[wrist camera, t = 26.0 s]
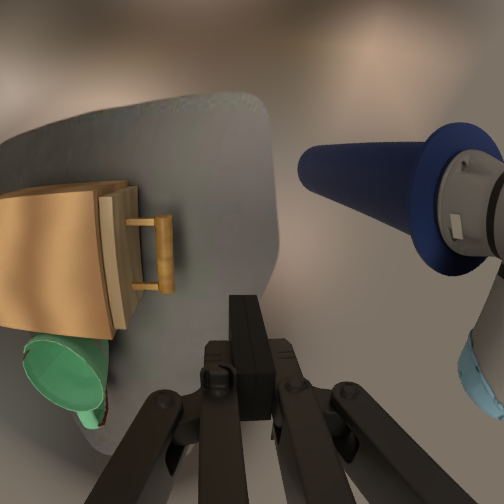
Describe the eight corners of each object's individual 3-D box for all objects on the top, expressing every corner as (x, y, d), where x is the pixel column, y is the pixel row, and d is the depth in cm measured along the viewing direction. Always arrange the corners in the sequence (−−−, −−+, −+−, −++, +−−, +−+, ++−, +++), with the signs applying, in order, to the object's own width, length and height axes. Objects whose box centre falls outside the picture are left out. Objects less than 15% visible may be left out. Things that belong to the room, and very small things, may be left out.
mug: (48, 296, 31) (8, 337, 22) (114, 291, 32) (83, 339, 23) (83, 385, 36) (62, 434, 26) (144, 386, 37) (131, 441, 27)
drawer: (178, 185, 29) (164, 195, 21) (181, 292, 32) (172, 331, 25) (36, 192, 27) (-5, 205, 19) (49, 288, 30) (17, 319, 23)
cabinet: (128, 179, 29) (93, 190, 20) (136, 293, 32) (112, 340, 23) (26, 187, 27) (-26, 202, 18) (39, 288, 31) (0, 326, 22)
